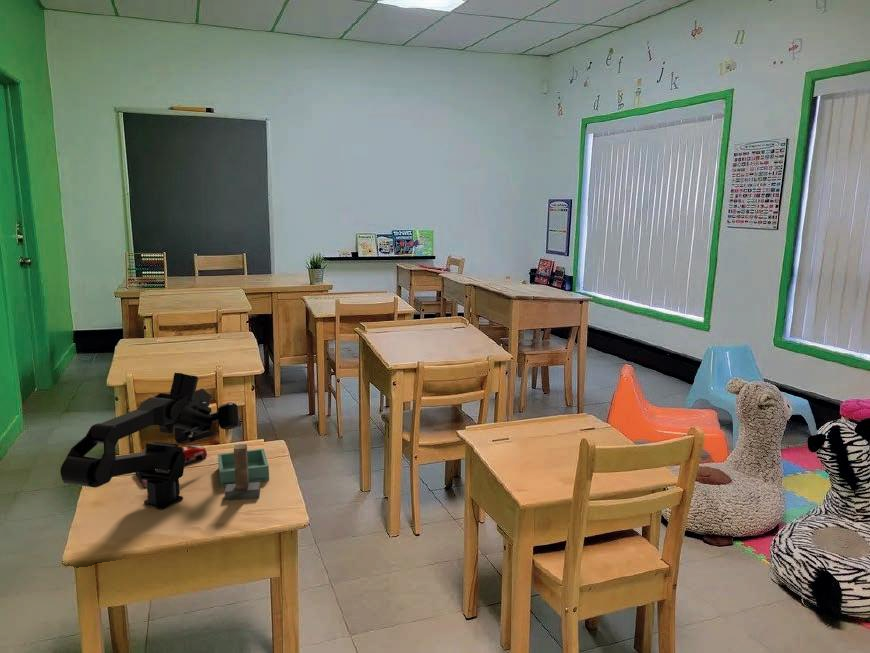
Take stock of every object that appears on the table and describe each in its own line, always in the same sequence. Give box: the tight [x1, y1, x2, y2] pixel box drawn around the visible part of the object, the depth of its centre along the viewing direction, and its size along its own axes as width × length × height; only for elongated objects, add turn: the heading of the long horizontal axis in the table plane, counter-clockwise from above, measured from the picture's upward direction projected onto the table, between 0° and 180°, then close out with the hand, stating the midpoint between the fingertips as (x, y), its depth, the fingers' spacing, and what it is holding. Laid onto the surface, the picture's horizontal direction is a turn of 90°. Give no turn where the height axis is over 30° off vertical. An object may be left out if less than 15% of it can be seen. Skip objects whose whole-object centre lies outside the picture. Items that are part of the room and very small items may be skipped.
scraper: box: [224, 443, 261, 502], centre depth 158 cm, size 8×4×13 cm, turn 101°
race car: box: [181, 445, 208, 466], centre depth 177 cm, size 13×5×4 cm, turn 136°
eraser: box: [135, 472, 147, 489], centre depth 167 cm, size 11×4×2 cm, turn 36°
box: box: [217, 448, 270, 488], centre depth 171 cm, size 12×12×4 cm
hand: (227, 429), depth 174 cm, fingers open, 9 cm apart
